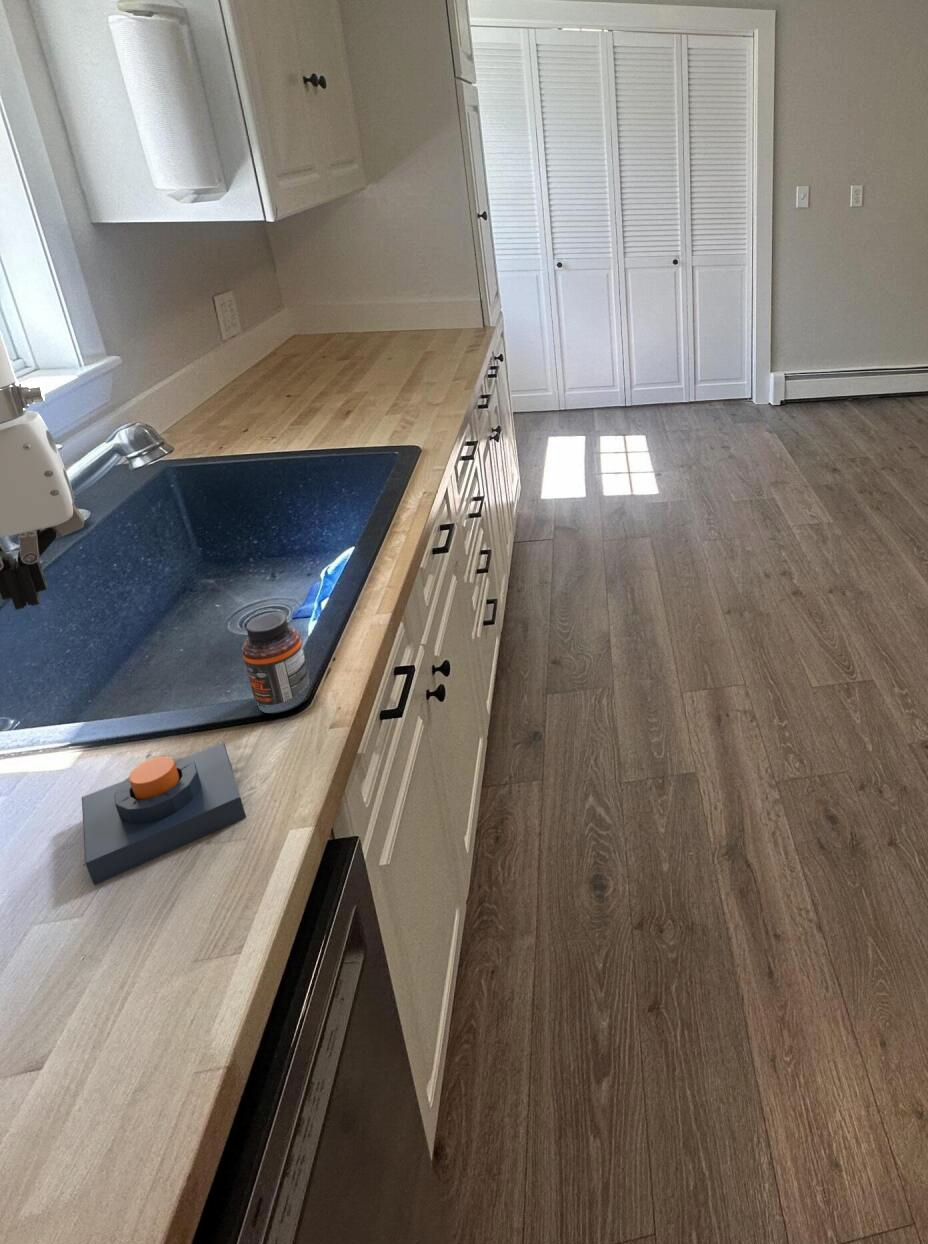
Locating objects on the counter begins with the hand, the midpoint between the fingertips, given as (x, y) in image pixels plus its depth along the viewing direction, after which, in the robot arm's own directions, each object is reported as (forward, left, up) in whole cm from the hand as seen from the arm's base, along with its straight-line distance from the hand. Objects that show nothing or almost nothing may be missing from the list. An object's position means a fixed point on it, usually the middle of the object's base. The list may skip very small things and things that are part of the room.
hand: (28, 600), depth 72 cm
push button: (+8, -3, -20) cm, 21 cm away
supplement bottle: (+13, +14, -24) cm, 30 cm away
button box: (+8, -3, -24) cm, 25 cm away
